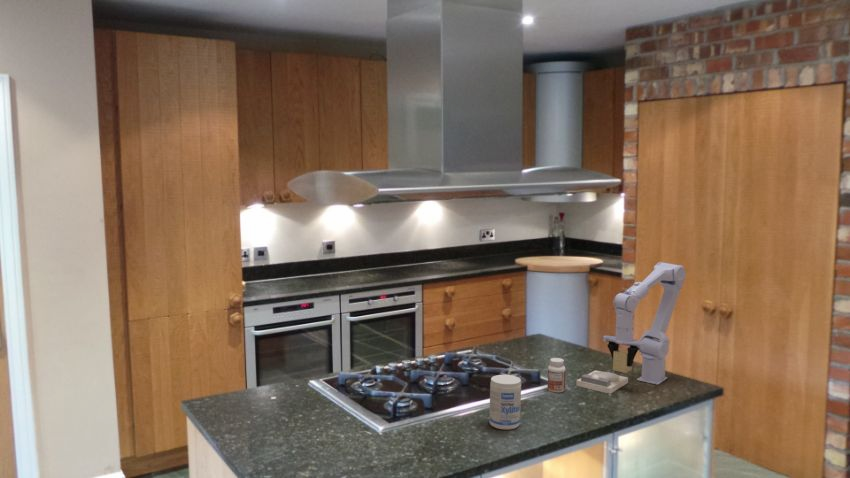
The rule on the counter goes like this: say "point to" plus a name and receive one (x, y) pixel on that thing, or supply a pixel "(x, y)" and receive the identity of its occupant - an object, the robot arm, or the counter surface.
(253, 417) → the counter surface
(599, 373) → the kitchen scale
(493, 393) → the supplement tub
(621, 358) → the block
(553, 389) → the pill bottle
